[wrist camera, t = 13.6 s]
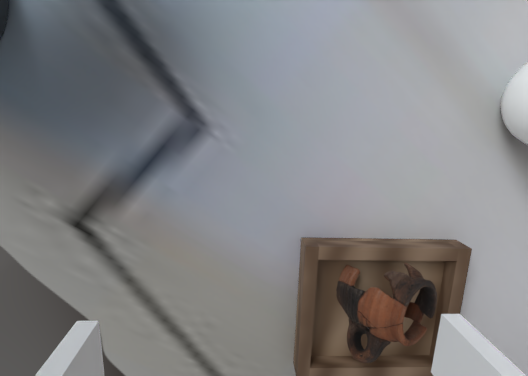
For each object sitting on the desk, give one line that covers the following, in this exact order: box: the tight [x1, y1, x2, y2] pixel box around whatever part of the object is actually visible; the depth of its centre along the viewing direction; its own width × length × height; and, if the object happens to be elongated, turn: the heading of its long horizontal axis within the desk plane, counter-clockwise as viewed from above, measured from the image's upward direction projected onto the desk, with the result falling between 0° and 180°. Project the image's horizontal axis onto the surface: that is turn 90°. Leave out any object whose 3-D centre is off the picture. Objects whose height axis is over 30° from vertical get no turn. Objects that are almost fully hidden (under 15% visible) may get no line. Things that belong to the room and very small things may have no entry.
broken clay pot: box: [336, 263, 437, 363], centre depth 37 cm, size 12×9×8 cm
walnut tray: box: [293, 238, 472, 376], centre depth 39 cm, size 19×17×3 cm
